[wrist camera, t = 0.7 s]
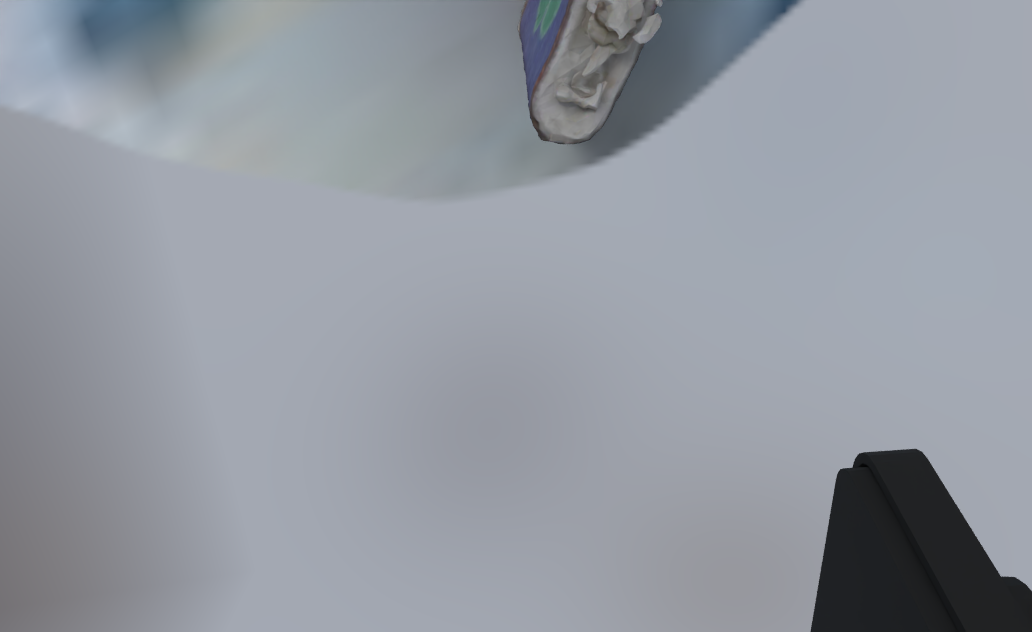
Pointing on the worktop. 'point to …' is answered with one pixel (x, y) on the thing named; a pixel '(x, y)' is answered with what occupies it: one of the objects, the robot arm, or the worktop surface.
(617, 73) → the flask
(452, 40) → the worktop surface
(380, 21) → the worktop surface
